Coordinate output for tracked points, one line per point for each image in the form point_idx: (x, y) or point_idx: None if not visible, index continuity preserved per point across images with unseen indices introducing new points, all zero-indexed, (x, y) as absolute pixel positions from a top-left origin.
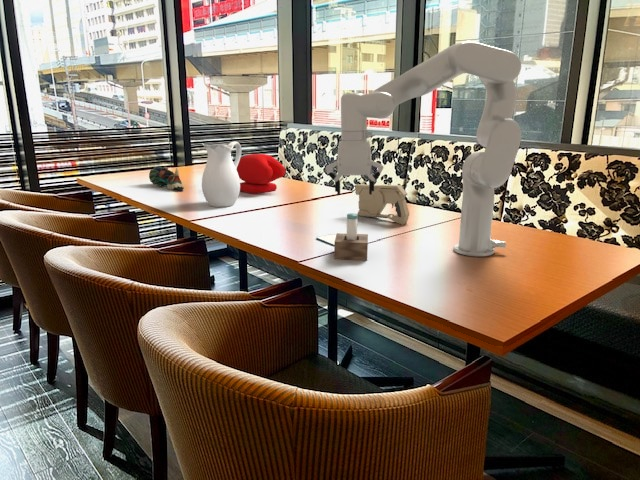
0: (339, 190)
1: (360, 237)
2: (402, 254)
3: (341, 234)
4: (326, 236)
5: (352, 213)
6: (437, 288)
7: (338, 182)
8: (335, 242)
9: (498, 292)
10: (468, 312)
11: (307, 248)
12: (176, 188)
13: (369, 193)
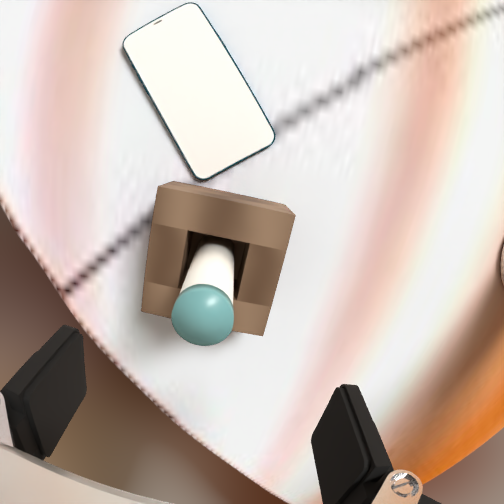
0: (73, 412)
1: (251, 262)
2: (384, 258)
3: (176, 205)
4: (161, 28)
5: (206, 295)
6: None
7: (41, 458)
8: (145, 310)
9: (421, 451)
10: None
11: (80, 159)
12: None
13: (312, 442)
